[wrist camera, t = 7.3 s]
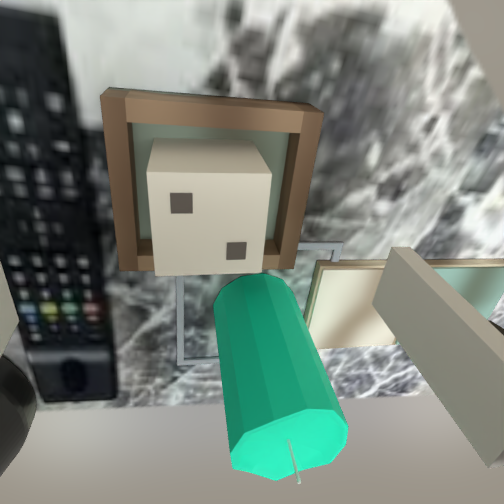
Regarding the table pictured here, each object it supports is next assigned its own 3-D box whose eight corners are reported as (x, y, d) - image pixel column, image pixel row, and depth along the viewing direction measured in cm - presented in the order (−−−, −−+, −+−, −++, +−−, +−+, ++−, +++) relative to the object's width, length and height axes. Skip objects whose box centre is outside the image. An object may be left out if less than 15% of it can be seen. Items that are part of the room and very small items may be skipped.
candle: (199, 291, 25) (212, 476, 15) (282, 261, 24) (352, 427, 14) (229, 346, 28) (257, 527, 18) (302, 320, 28) (371, 488, 18)
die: (160, 225, 21) (155, 277, 17) (154, 137, 18) (146, 172, 14) (246, 224, 22) (261, 273, 17) (252, 140, 19) (272, 174, 15)
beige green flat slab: (297, 343, 29) (300, 351, 28) (316, 260, 25) (321, 268, 24) (469, 334, 32) (476, 341, 31) (512, 258, 28) (521, 265, 27)
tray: (125, 248, 22) (119, 271, 20) (109, 87, 17) (99, 95, 15) (284, 248, 24) (293, 269, 22) (309, 103, 19) (324, 112, 17)
